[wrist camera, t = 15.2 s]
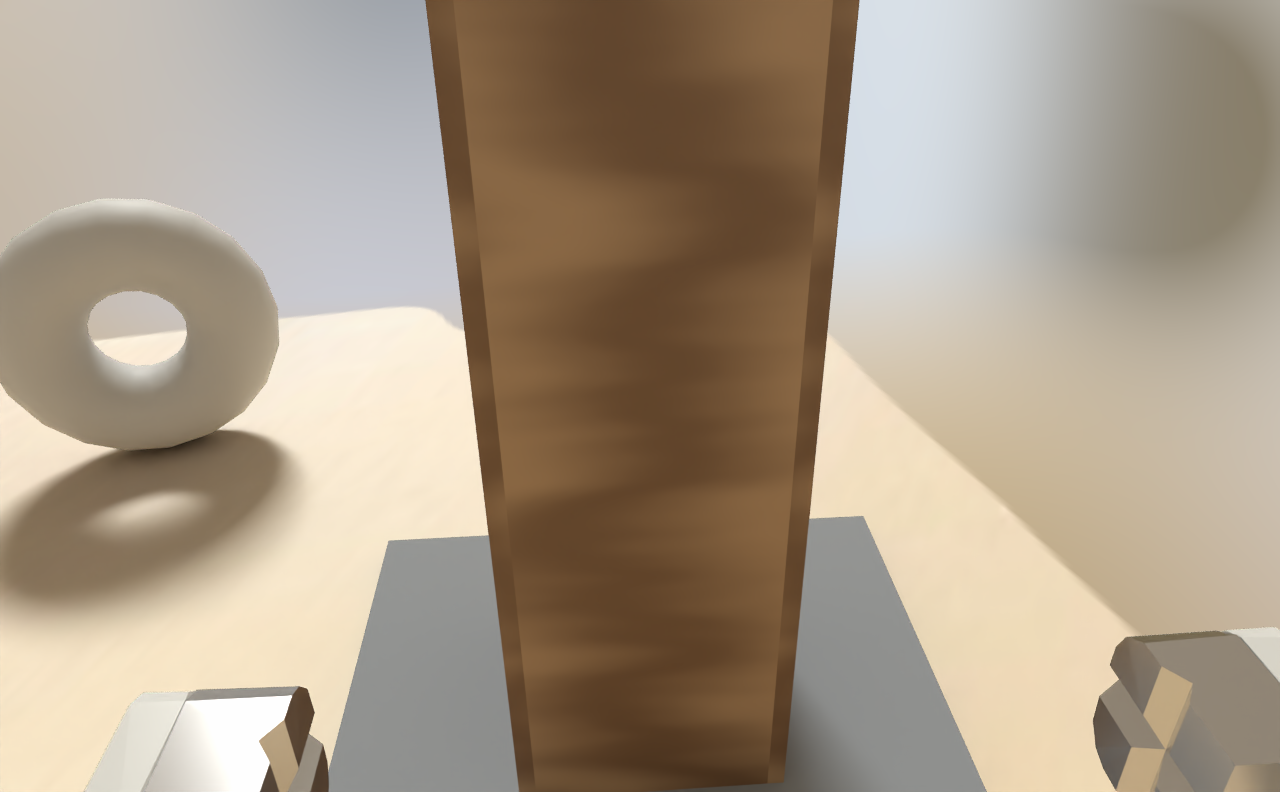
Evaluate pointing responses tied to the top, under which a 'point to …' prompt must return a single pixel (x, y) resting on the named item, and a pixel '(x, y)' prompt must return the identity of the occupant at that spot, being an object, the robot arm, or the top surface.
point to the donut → (132, 261)
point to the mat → (488, 788)
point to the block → (646, 362)
